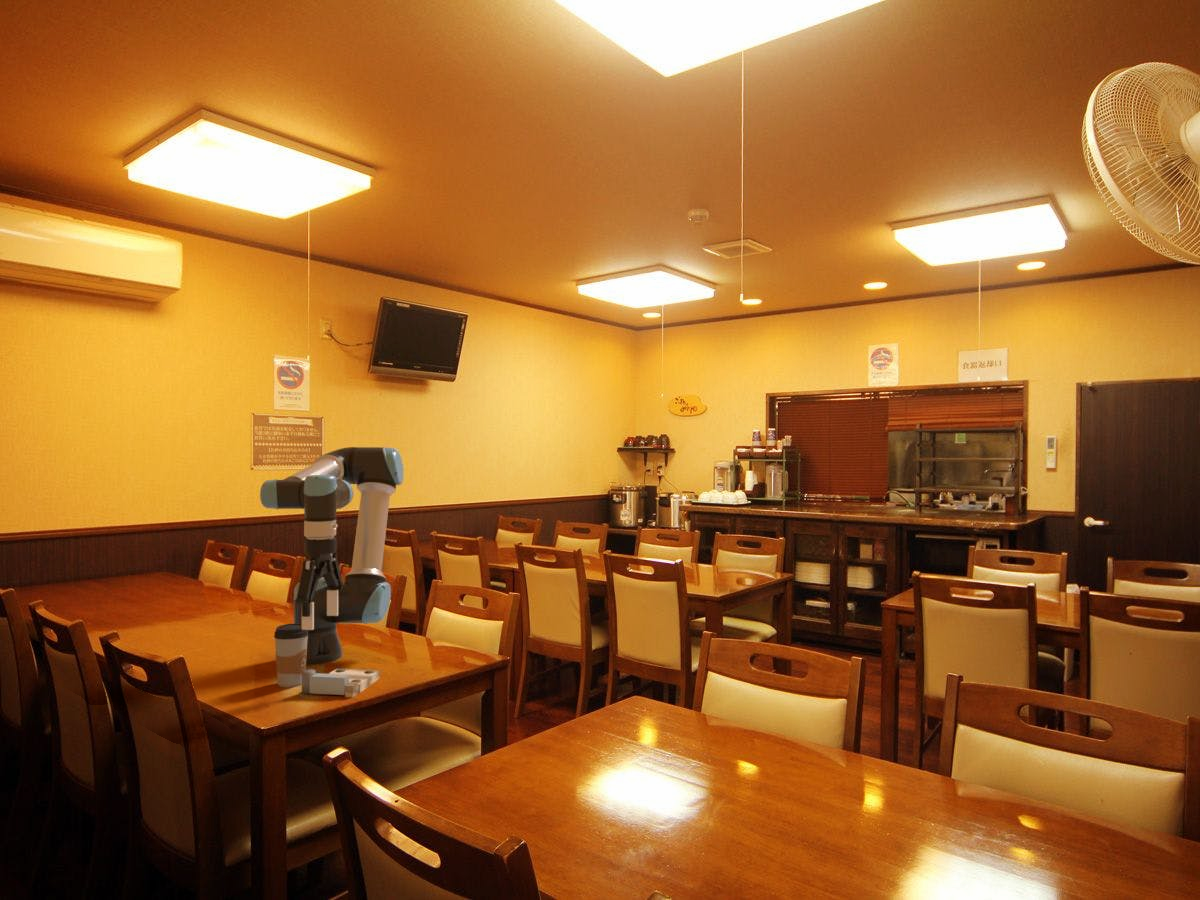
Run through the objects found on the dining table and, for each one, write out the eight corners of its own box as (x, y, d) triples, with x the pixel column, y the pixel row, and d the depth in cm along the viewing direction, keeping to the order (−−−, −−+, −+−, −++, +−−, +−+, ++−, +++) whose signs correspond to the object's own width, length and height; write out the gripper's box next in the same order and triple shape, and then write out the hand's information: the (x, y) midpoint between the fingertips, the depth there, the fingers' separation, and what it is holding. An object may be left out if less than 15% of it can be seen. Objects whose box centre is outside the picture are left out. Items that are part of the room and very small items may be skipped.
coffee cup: (295, 690, 190) (296, 631, 190) (266, 688, 192) (267, 629, 192) (314, 680, 198) (315, 623, 198) (286, 678, 200) (286, 622, 200)
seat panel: (327, 677, 201) (327, 665, 201) (379, 679, 200) (379, 667, 200) (295, 697, 185) (295, 684, 185) (352, 700, 184) (352, 686, 184)
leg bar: (299, 693, 186) (299, 673, 186) (305, 689, 189) (305, 669, 189) (343, 695, 184) (344, 675, 184) (349, 691, 188) (349, 671, 188)
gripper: (311, 545, 174) (311, 636, 175) (355, 530, 199) (355, 610, 200) (280, 544, 175) (280, 635, 175) (328, 530, 200) (328, 609, 200)
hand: (320, 622), depth 187 cm, fingers open, 13 cm apart
